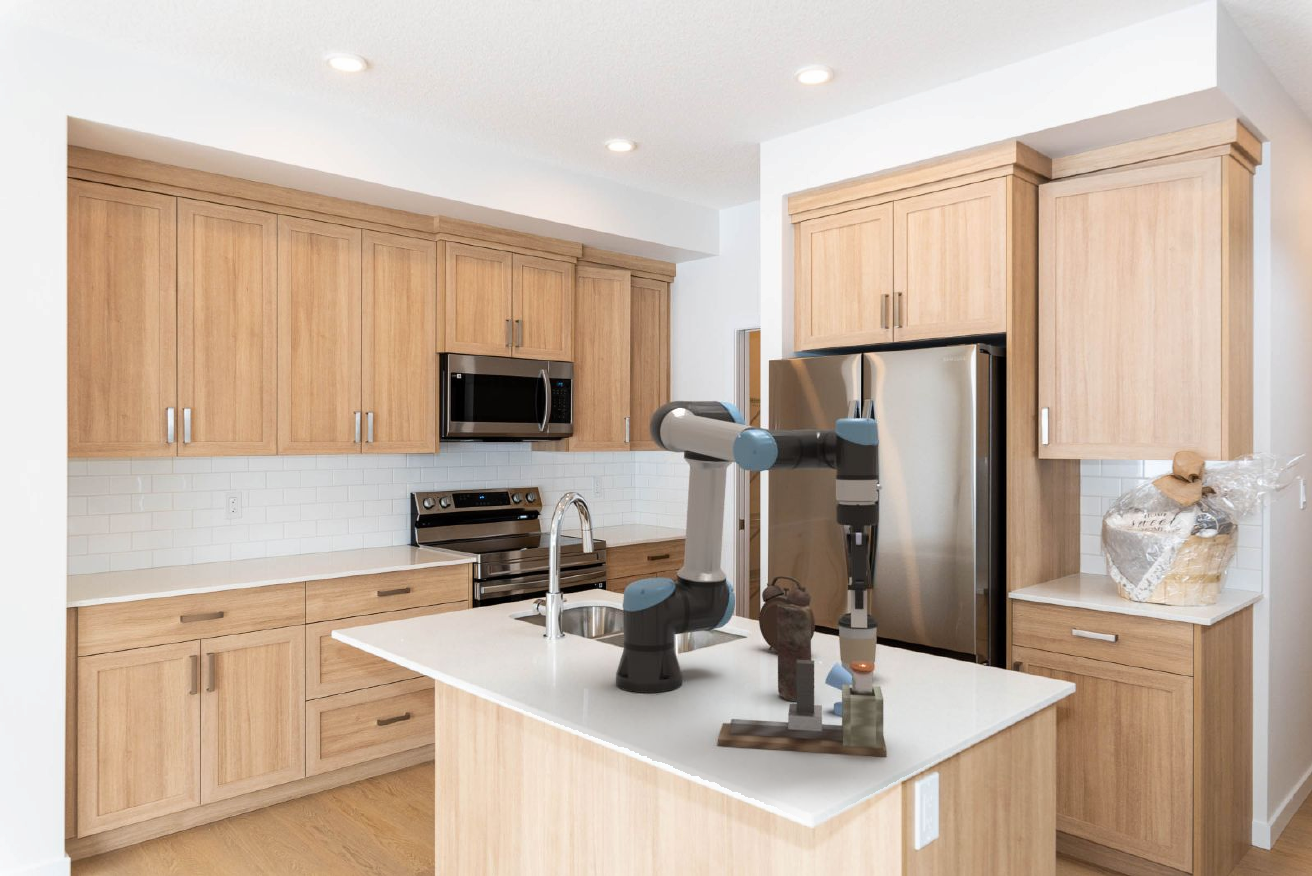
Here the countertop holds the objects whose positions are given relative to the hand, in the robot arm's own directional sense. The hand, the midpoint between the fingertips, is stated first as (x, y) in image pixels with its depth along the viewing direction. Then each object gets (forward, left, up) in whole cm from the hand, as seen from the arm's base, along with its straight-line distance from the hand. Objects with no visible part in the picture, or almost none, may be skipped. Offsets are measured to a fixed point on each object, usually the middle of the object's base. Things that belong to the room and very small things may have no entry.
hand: (858, 619), depth 160 cm
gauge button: (+1, 0, -16) cm, 16 cm away
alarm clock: (-15, +65, -24) cm, 71 cm away
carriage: (-9, 0, -20) cm, 22 cm away
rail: (-10, 0, -23) cm, 25 cm away
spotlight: (-2, +19, -24) cm, 30 cm away
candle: (-12, +28, -24) cm, 39 cm away
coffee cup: (+2, +45, -24) cm, 51 cm away
